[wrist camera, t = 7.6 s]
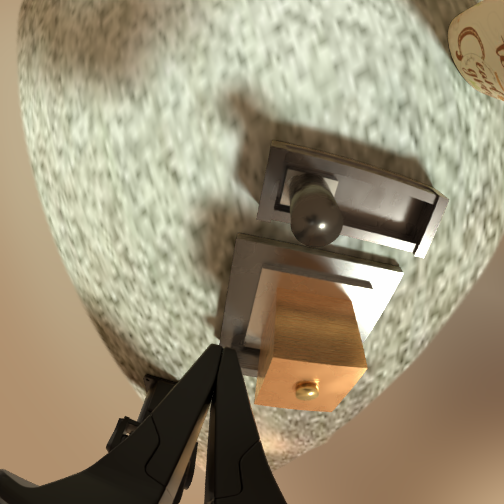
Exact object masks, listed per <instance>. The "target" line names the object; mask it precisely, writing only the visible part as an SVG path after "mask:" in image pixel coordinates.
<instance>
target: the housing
mask: <svg viewBox="0 0 504 504" xmlns="http://www.w3.org/2000/svg"><path fill="white" fill-rule="evenodd" d="M366 370H367V363H366V358H365V354H364V349H363V345H362V340H361V336H360V332H359V328H358V323H357V319H356V315H355V311H354V307H353V304H352V301H351V300H345V299H339V298H333V297H328V296H322V295H317V294H311V293H306V292H300V291H295V290H289V289H284V288H279V287H277V288H276V292H275V295H274V299H273V302H272V305H271V309H270V312H269V315H268V319H267V322H266V325H265V329H264V332H263V335H262V338H261V346H260V355H259V365H258V374H257V383H256V392H255V401H254V404H257V405H264V406H271V407H279V408H288V409H298V410H309V411H323V412H332V411H333V410H334V409H335V408H336V406H337V405H338V404H339V403H340V402H341V401H342V400H343V398H344V397H345V396H346V395H347V394H348V392H349V391H350V390H351V389H352V387H353V386H354V385H355V384H356V383H357V381H358V380H359V379H360V377H361V376H362V375H363V374H364V372H365V371H366Z"/></svg>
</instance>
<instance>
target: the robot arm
mask: <svg viewBox="0 0 504 504" xmlns="http://www.w3.org/2000/svg"><path fill="white" fill-rule="evenodd" d="M221 355H222V356H221ZM144 382H145V386H146V390H147V396H146V398H145V401H144V404H143V407H142V409H141V412H140V415H139V417H138V420H137V421H134V420H132V419H130V418H129V417H126V416H125V417H124V419H121V418H119V420H118V423H117V426H116V428H115V430H114V432H113V434H112V436H111V438H110V440H109V442H108V444H107V446H106V449H107V451H108V454H106V455H105V456H104V457H103V458H101V459H100V460H99V461H98V462H96V463H95V464H94V465H92V466H91V467H89V468H87V469H85V470H83V471H82V472H79V473H77V474H74V475H71V476H68V477H66V478H64V479H60V480H57V481H55V482H51V483H48V484H45V485H42V486H38V485H36V484H33V483H31V482H29V481H27V480H25V479H23V478H21V477H18V476H17V475H15V474H13V473H10V472H9V471H6V470H4V469H0V504H178V503H179V502H180V500H181V497H182V493H183V490H184V489H186V490H187V489H188V488H189V486H190V484H191V482H192V478H193V475H194V469H195V461H196V454H197V446H198V442H196V441H197V438H198V436H199V433H200V431H201V428H202V425H203V423H204V420H205V417H206V415H207V412H208V409H209V406H210V403H211V408H210V420H209V434H208V448H207V463H206V480H205V500H204V504H287V503H286V501H285V499H284V497H283V495H282V493H281V491H280V489H279V487H278V485H277V483H276V481H275V478H274V476H273V474H272V472H271V469H270V467H269V465H268V462H267V459H266V456H265V453H264V450H263V446H262V443H261V441H260V437H259V433H258V430H257V426H256V422H255V419H254V415H253V412H252V408H251V404H250V401H249V397H248V393H247V390H246V386H245V382H244V378H243V374H242V370H241V367H240V363H239V359H238V355H237V351H236V349H234V348H229V347H224V348H223V347H222V346H221V345H216V344H210V345H209V346H208V348H207V349H206V350H205V351H204V352H203V354H202V355H201V356H200V357H199V358H198V359H197V361H196V362H195V363H194V364H193V365H192V367H191V368H190V369H189V370H188V371H187V372H186V374H185V375H184V376H183V377H182V378H181V379H180V380H179V382H178V383H174V382H170V381H167V380H163V379H160V378H156V377H153V376H149V375H145V376H144ZM213 391H214V392H213ZM211 400H212V401H211ZM127 433H129V434H130V435H129V436H128V435H126V434H127Z"/></svg>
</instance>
